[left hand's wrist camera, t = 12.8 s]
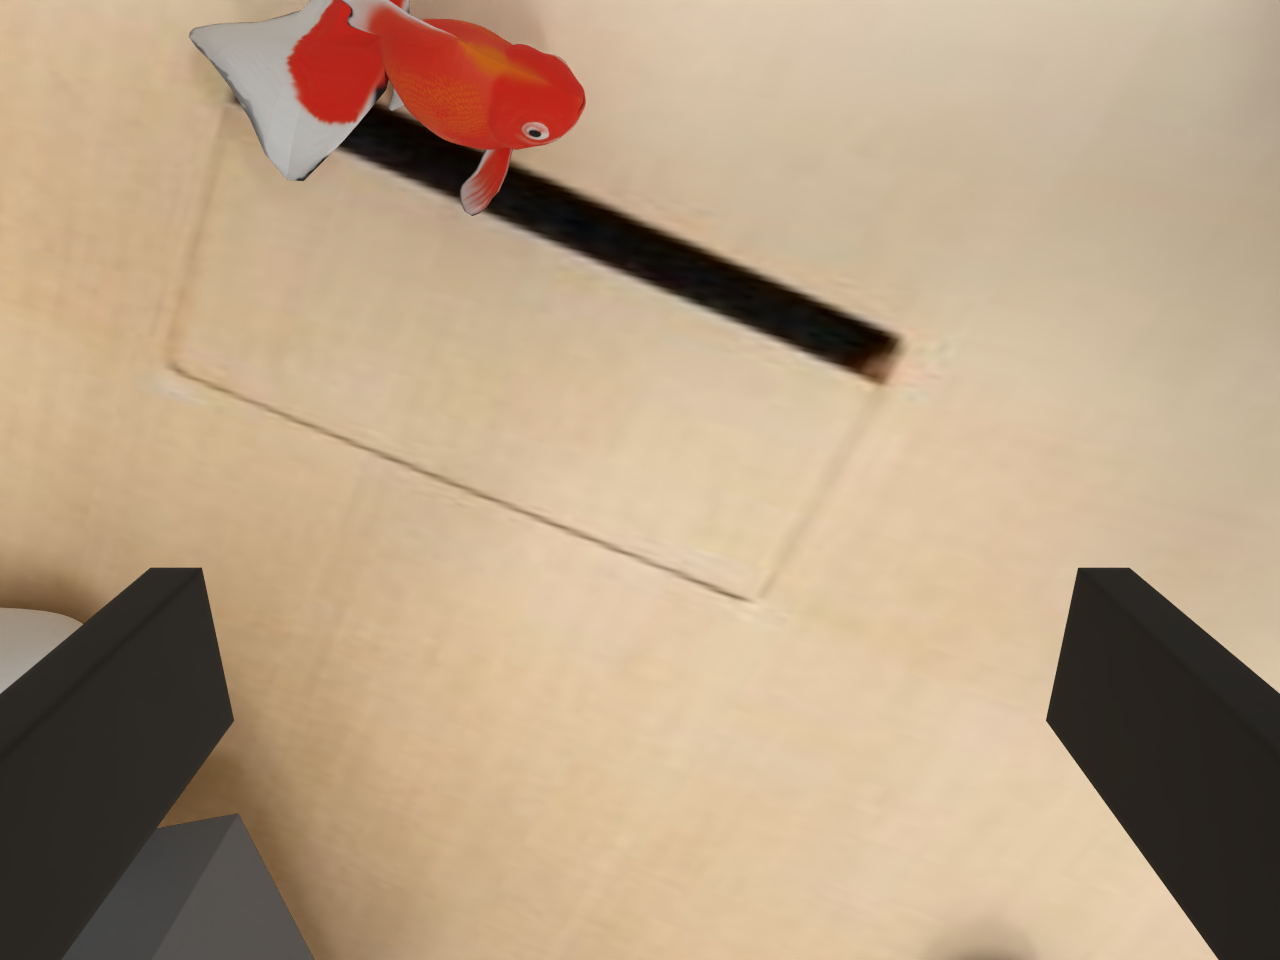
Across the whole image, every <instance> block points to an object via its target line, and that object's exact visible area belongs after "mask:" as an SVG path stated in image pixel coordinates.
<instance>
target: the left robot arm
mask: <svg viewBox="0 0 1280 960" xmlns="http://www.w3.org/2000/svg"><path fill="white" fill-rule="evenodd" d="M233 721H234V718H233V714H232V709H231V704H230V699H229V695H228V690H227V685H226V680H225V676H224V671H223V666H222V661H221V657H220V652H219V647H218V642H217V638H216V633H215V628H214V623H213V619H212V614H211V609H210V604H209V600H208V595H207V590H206V585H205V581H204V576H203V571H202V568H150V569H149V570H147V571H146V572H145V573H144V574H143V575H141V576H140V577H139V578H138V579H137V580H136V581H134V582H133V583H132V584H131V585H130V586H128V587H127V588H126V589H125V590H124V591H122V592H121V593H120V594H119V595H118V596H116V597H115V598H114V599H113V600H112V601H110V602H109V603H108V604H107V605H106V606H104V607H103V608H102V609H101V610H100V611H99V612H97V613H96V614H95V615H94V616H93V617H91V618H90V619H89V620H88V621H87V622H85V623H84V624H83V625H82V626H81V627H79V628H78V629H77V630H76V631H75V632H73V633H72V634H71V635H70V636H69V637H67V638H66V639H65V640H64V641H63V642H61V643H60V644H59V645H58V646H57V647H56V648H54V649H53V650H52V651H51V652H50V653H48V654H47V655H46V656H45V657H44V658H42V659H41V660H40V661H39V662H38V663H36V664H35V665H34V666H33V667H32V668H30V669H29V670H28V671H27V672H26V673H24V674H23V675H22V676H21V677H20V678H19V679H17V680H16V681H15V682H14V683H13V684H11V685H10V686H9V687H8V688H7V689H5V690H4V691H3V692H2V693H1V694H0V960H62V958H63V957H64V955H65V954H66V953H67V951H68V950H69V948H70V947H71V946H72V944H73V943H74V942H75V940H76V939H77V937H78V936H79V935H80V933H81V932H82V930H83V929H84V928H85V926H86V925H87V923H88V922H89V921H90V919H91V918H92V917H93V915H94V914H95V912H96V911H97V910H98V908H99V907H100V905H101V904H102V903H103V901H104V900H105V899H106V897H107V896H108V894H109V893H110V892H111V890H112V889H113V887H114V886H115V885H116V883H117V882H118V881H119V879H120V878H121V876H122V875H123V874H124V872H125V871H126V869H127V868H128V867H129V865H130V864H131V863H132V861H133V860H134V858H135V857H136V856H137V854H138V853H139V851H140V850H141V849H142V847H143V846H144V845H145V843H146V842H147V840H148V839H149V838H150V836H151V835H152V833H153V832H154V831H155V829H156V828H157V826H158V825H159V824H160V822H161V821H162V820H163V818H164V817H165V815H166V814H167V813H168V811H169V810H170V808H171V807H172V806H173V804H174V803H175V802H176V800H177V799H178V797H179V796H180V795H181V793H182V792H183V790H184V789H185V788H186V786H187V785H188V784H189V782H190V781H191V779H192V778H193V777H194V775H195V774H196V772H197V771H198V770H199V768H200V767H201V766H202V764H203V763H204V761H205V760H206V759H207V757H208V756H209V754H210V753H211V752H212V750H213V749H214V747H215V746H216V745H217V743H218V742H219V741H220V739H221V738H222V736H223V735H224V734H225V732H226V731H227V729H228V728H229V727H230V725H231V724H232V723H233ZM1046 721H1047V723H1048V724H1049V725H1050V727H1051V728H1052V729H1053V731H1054V732H1055V734H1056V735H1057V736H1058V738H1059V739H1060V741H1061V742H1062V743H1063V745H1064V746H1065V748H1066V749H1067V750H1068V752H1069V753H1070V754H1071V756H1072V757H1073V759H1074V760H1075V761H1076V763H1077V764H1078V766H1079V767H1080V768H1081V770H1082V771H1083V772H1084V774H1085V775H1086V777H1087V778H1088V779H1089V781H1090V782H1091V784H1092V785H1093V786H1094V788H1095V789H1096V790H1097V792H1098V793H1099V795H1100V796H1101V797H1102V799H1103V800H1104V802H1105V803H1106V804H1107V806H1108V807H1109V808H1110V810H1111V811H1112V813H1113V814H1114V815H1115V817H1116V818H1117V820H1118V821H1119V822H1120V824H1121V825H1122V826H1123V828H1124V829H1125V831H1126V832H1127V833H1128V835H1129V836H1130V838H1131V839H1132V840H1133V842H1134V843H1135V845H1136V846H1137V847H1138V849H1139V850H1140V851H1141V853H1142V854H1143V856H1144V857H1145V858H1146V860H1147V861H1148V863H1149V864H1150V865H1151V867H1152V868H1153V869H1154V871H1155V872H1156V874H1157V875H1158V876H1159V878H1160V879H1161V881H1162V882H1163V883H1164V885H1165V886H1166V887H1167V889H1168V890H1169V892H1170V893H1171V894H1172V896H1173V897H1174V899H1175V900H1176V901H1177V903H1178V904H1179V905H1180V907H1181V908H1182V910H1183V911H1184V912H1185V914H1186V915H1187V917H1188V918H1189V919H1190V921H1191V922H1192V923H1193V925H1194V926H1195V928H1196V929H1197V930H1198V932H1199V933H1200V935H1201V936H1202V937H1203V939H1204V940H1205V942H1206V943H1207V944H1208V946H1209V947H1210V948H1211V950H1212V951H1213V953H1214V954H1215V955H1216V957H1217V958H1218V960H1280V694H1279V693H1278V692H1277V691H1276V690H1275V689H1273V688H1272V687H1271V686H1270V685H1269V684H1267V683H1266V682H1265V681H1264V680H1263V679H1261V678H1260V677H1259V676H1258V675H1257V674H1256V673H1254V672H1253V671H1252V670H1251V669H1250V668H1248V667H1247V666H1246V665H1245V664H1244V663H1242V662H1241V661H1240V660H1239V659H1238V658H1236V657H1235V656H1234V655H1233V654H1232V653H1230V652H1229V651H1228V650H1227V649H1226V648H1224V647H1223V646H1222V645H1221V644H1220V643H1219V642H1217V641H1216V640H1215V639H1214V638H1213V637H1211V636H1210V635H1209V634H1208V633H1207V632H1205V631H1204V630H1203V629H1202V628H1201V627H1199V626H1198V625H1197V624H1196V623H1195V622H1193V621H1192V620H1191V619H1190V618H1189V617H1187V616H1186V615H1185V614H1184V613H1183V612H1181V611H1180V610H1179V609H1178V608H1177V607H1176V606H1174V605H1173V604H1172V603H1171V602H1170V601H1168V600H1167V599H1166V598H1165V597H1164V596H1162V595H1161V594H1160V593H1159V592H1158V591H1156V590H1155V589H1154V588H1153V587H1152V586H1150V585H1149V584H1148V583H1147V582H1146V581H1144V580H1143V579H1142V578H1141V577H1140V576H1139V575H1137V574H1136V573H1135V572H1134V571H1133V570H1131V569H1130V568H1078V571H1077V576H1076V581H1075V585H1074V590H1073V595H1072V600H1071V604H1070V609H1069V614H1068V619H1067V623H1066V628H1065V633H1064V638H1063V642H1062V647H1061V652H1060V657H1059V661H1058V666H1057V671H1056V676H1055V680H1054V685H1053V690H1052V695H1051V699H1050V704H1049V709H1048V714H1047V718H1046Z"/></svg>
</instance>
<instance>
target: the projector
mask: <svg viewBox="0 0 1280 960" xmlns="http://www.w3.org/2000/svg"><path fill="white" fill-rule="evenodd" d="M82 625H83V623H81V622H79V621H77V620H75V619H73V618H71V617H68V616H65V615H62V614H58V613H53V612H48V611H41V610H30V609H19V608H0V694H1V693H2V692H3V691H4V690H5V689H7V688H8V687H9V686H10V685H11V684H13V683H14V682H15V681H16V680H17V679H19V678H20V677H21V676H22V675H23V674H24V673H26V672H27V671H28V670H29V669H30V668H32V667H33V666H34V665H35V664H36V663H38V662H39V661H40V660H41V659H42V658H44V657H45V656H46V655H47V654H48V653H50V652H51V651H52V650H53V649H54V648H56V647H57V646H58V645H59V644H60V643H61V642H63V641H64V640H65V639H66V638H67V637H69V636H70V635H71V634H72V633H73V632H75V631H76V630H77V629H78V628H79V627H81V626H82Z"/></svg>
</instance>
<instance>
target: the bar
mask: <svg viewBox="0 0 1280 960" xmlns="http://www.w3.org/2000/svg"><path fill="white" fill-rule="evenodd" d="M62 960H314V958H313V956H312V954H311V952H310V950H309V948H308V947H307V945H306V943H305V941H304V939H303V937H302V935H301V933H300V931H299V929H298V927H297V925H296V923H295V922H294V920H293V918H292V916H291V914H290V912H289V910H288V908H287V906H286V904H285V902H284V900H283V898H282V896H281V895H280V893H279V891H278V889H277V887H276V885H275V883H274V881H273V879H272V877H271V875H270V873H269V871H268V869H267V868H266V866H265V864H264V862H263V860H262V858H261V856H260V854H259V852H258V850H257V848H256V846H255V844H254V843H253V841H252V839H251V837H250V835H249V833H248V831H247V829H246V827H245V825H244V823H243V821H242V819H241V817H240V816H239V814H232V815H227V816H222V817H216V818H211V819H205V820H200V821H194V822H189V823H183V824H178V825H173V826H167V827H162V828H156V829H155V831H154V832H153V833H152V835H151V836H150V838H149V839H148V840H147V842H146V843H145V845H144V846H143V847H142V849H141V850H140V851H139V853H138V854H137V856H136V857H135V858H134V860H133V861H132V863H131V864H130V865H129V867H128V868H127V869H126V871H125V872H124V874H123V875H122V876H121V878H120V879H119V881H118V882H117V883H116V885H115V886H114V887H113V889H112V890H111V892H110V893H109V894H108V896H107V897H106V899H105V900H104V901H103V903H102V904H101V905H100V907H99V908H98V910H97V911H96V912H95V914H94V915H93V917H92V918H91V919H90V921H89V922H88V923H87V925H86V926H85V928H84V929H83V930H82V932H81V933H80V935H79V936H78V937H77V939H76V940H75V942H74V943H73V944H72V946H71V947H70V948H69V950H68V951H67V953H66V954H65V955H64V957H63V958H62Z"/></svg>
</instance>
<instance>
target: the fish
mask: <svg viewBox="0 0 1280 960" xmlns="http://www.w3.org/2000/svg"><path fill="white" fill-rule="evenodd" d="M189 38H190V39H191V40H192V42H193V43H194V44H195V46H196V47H197V48H198V49H199V50H200V51H201V52H202V53H203V54H204V55H205V56H206V57H207V58H208V59H209V60H210V61H211V62H212V64H213V65H214V66H215V68H216V69H217V70H218V71H219V73H220V74H221V75H222V77H223V78H224V79H225V81H226V82H227V83H228V84H229V86H230V87H231V89H232V90H233V92H234V94H235V95H236V97H237V99H238V100H239V102H240V104H241V105H242V107H243V109H244V110H245V112H246V114H247V115H248V117H249V118H250V120H251V122H252V125H253V127H254V129H255V132H256V134H257V136H258V139H259V141H260V143H261V145H262V148H263V150H264V152H265V154H266V156H267V157H268V158H269V159H270V160H271V162H272V163H273V164H274V165H275V166H276V167H277V169H278V170H279V171H280V172H281V173H282V174H283V176H284V177H285V178H286V179H287V180H295V181H304V180H305V179H306V178H307V177H308V176H309V175H310V174H311V173H312V172H313V171H314V170H315V169H316V168H317V167H318V166H319V165H320V164H321V163H322V162H323V161H324V160H325V159H326V158H327V157H328V156H329V155H330V154H331V153H332V152H333V151H334V150H335V149H336V148H337V147H338V146H339V145H340V144H341V143H342V142H343V141H344V140H345V138H346V137H347V136H348V135H349V134H350V133H351V131H352V130H353V129H354V128H355V127H356V126H357V124H358V123H359V122H360V121H361V120H362V118H363V117H364V116H365V115H366V114H367V112H368V111H369V110H370V109H371V108H372V106H373V105H374V104H375V103H376V101H377V100H378V99H379V98H380V97H381V95H382V94H383V93H384V92H385V90H386V87H387V84H388V80H390V81H391V83H392V85H393V87H394V88H393V94H392V98H391V102H390V105H389V109H390V110H392V111H393V110H395V109H397V108H400V107H402V106H406V108H407V109H408V110H409V112H410V113H411V114H412V115H413V116H414V117H415V118H417V119H418V120H419V121H420V122H421V123H422V124H423V125H424V126H425V127H427V128H428V129H429V130H430V131H432V132H433V133H435V134H436V135H437V136H439V137H441V138H443V139H444V140H447V141H449V142H452V143H455V144H459V145H463V146H467V147H471V148H475V149H482V150H485V152H484V154H483V156H482V158H481V160H480V162H479V164H478V166H477V169H476V170H475V171H474V172H473V174H472V175H471V176H470V177H469V178H468V179H467V180H466V181H465V182H464V183H463V184H462V186H461V189H460V198H461V204H462V206H463V208H464V210H465V212H467V213H468V214H470V215H472V216H474V215H476V214H479V213H480V212H481V211H482V210H484V209H485V208H486V207H487V206H488V204H489V202H490V201H491V199H492V198H493V197H494V196H495V195H496V194H497V193H498V192H499V190H500V188H501V185H502V183H503V181H504V179H505V176H506V174H507V171H508V167H509V163H510V159H511V154H512V150H513V149H515V150H517V149H522V148H528V147H533V146H541V145H546V144H549V143H551V142H554V141H557V140H558V139H559V138H561V137H562V136H563V135H564V134H566V133H567V132H568V131H570V130H571V129H572V128H573V127H574V125H575V124H576V123H577V121H578V119H579V117H580V115H581V114H582V112H583V110H584V107H585V93H584V90H583V88H582V86H581V85H580V83H579V82H578V81H577V79H576V78H575V76H574V75H573V73H572V72H571V70H570V68H569V67H568V65H567V64H566V62H565V61H564V60H563V59H561V58H560V57H558V56H555V55H550V54H545V53H542V52H540V51H538V50H536V49H534V48H532V47H530V46H526V45H522V44H517V45H512V44H510V43H509V42H507V41H506V40H504V39H503V38H501V37H499V36H498V35H496V34H494V33H493V32H491V31H489V30H488V29H486V28H483V27H481V26H478V25H475V24H472V23H468V22H463V21H458V20H450V19H424V20H420V19H418V18H416V17H414V16H412V15H410V14H409V0H310V1H309V2H308V4H307V5H306V6H305V7H304V8H303V9H302V10H300V11H297V12H294V13H291V14H288V15H285V16H282V17H278V18H274V19H270V20H267V21H263V22H250V23H224V24H214V25H208V26H203V27H197V28H194V29H193V30H192V31H191V32H190V34H189Z"/></svg>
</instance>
